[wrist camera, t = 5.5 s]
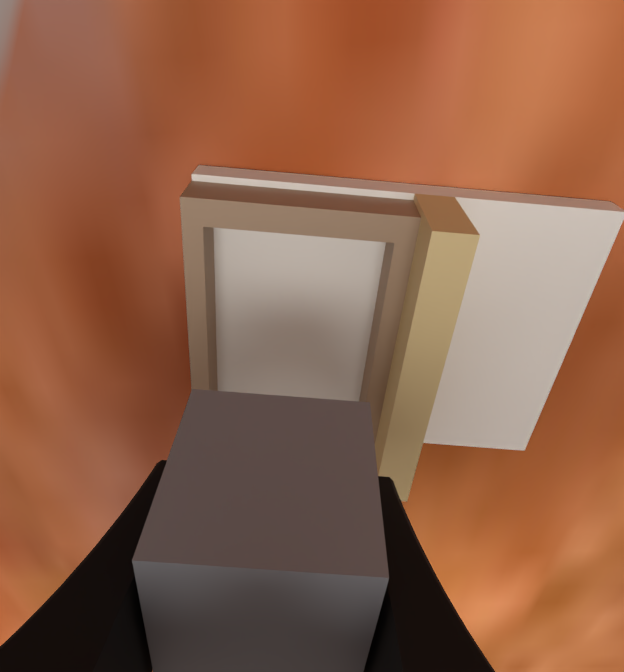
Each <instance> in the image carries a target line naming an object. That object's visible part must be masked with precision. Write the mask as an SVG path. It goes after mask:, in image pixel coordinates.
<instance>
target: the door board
mask: <svg viewBox="0 0 624 672" xmlns="http://www.w3.org/2000/svg"><path fill="white" fill-rule="evenodd" d="M180 209H181V225H182V242H183V258H184V274H185V291H186V307H187V323H188V340H189V356H190V372H191V389H200V390H213V391H227V392H240V393H253V394H266V395H280V396H293V397H306V398H319V399H333V400H346V401H359V402H370V407H371V416H372V425H373V435H374V444H375V453H376V462H377V471H378V476H383V477H390V478H391V479H392V480H393V481H394V484H395V487H396V490H397V492H398V495H399V498H400V500H401V501H407V500H408V496H409V492H410V489H411V485H412V481H413V478H414V474H415V471H416V467H417V463H418V460H419V456H420V452H421V449H422V445H423V443H431V444H444V445H457V446H470V447H484V448H497V449H510V450H523V451H524V450H525V448H526V446H527V443H528V441H529V439H530V437H531V434H532V432H533V430H534V427H535V425H536V423H537V420H538V418H539V416H540V413H541V411H542V409H543V406H544V404H545V402H546V399H547V397H548V395H549V392H550V390H551V388H552V385H553V383H554V381H555V378H556V376H557V374H558V371H559V369H560V367H561V364H562V362H563V360H564V357H565V355H566V353H567V350H568V348H569V346H570V343H571V341H572V339H573V336H574V334H575V332H576V329H577V327H578V325H579V322H580V320H581V318H582V315H583V313H584V311H585V308H586V306H587V304H588V301H589V299H590V297H591V294H592V292H593V290H594V287H595V285H596V283H597V280H598V278H599V276H600V273H601V271H602V269H603V266H604V264H605V262H606V259H607V257H608V255H609V252H610V250H611V248H612V245H613V243H614V241H615V238H616V236H617V234H618V231H619V229H620V227H621V224H622V222H623V220H624V210H623V209H621V208H620V207H618V206H617V205H616V204H614V203H613V202H611V201H601V200H589V199H578V198H567V197H555V196H544V195H533V194H521V193H510V192H499V191H487V190H476V189H465V188H453V187H442V186H431V185H420V184H408V183H397V182H386V181H374V180H363V179H352V178H340V177H329V176H318V175H306V174H295V173H284V172H273V171H261V170H250V169H239V168H227V167H216V166H205V165H198V167H197V168H196V169H195V170H194V172H193V173H192V181H191V183H190V184H189V185H188V187H187V188H186V189H185V190H184V192H183V193H182V194H181V196H180Z"/></svg>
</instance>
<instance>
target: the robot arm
mask: <svg viewBox="0 0 624 672" xmlns="http://www.w3.org/2000/svg"><path fill="white" fill-rule="evenodd" d="M166 462H167V460H161V461H160V462H158V463H157V464H156V466H155V467H154V469H153V470H152V472H151V473H150V475H149V476H148V478H147V479H146V481H145V482H144V483H143V485H142V486H141V488H140V489H139V491H138V492H137V493H136V495H135V496H134V497H133V499H132V500H131V501H130V503H129V504H128V506H127V507H126V508H125V510H124V511H123V512H122V514H121V515H120V516H119V517H118V519H117V520H116V521H115V522H114V524H113V525H112V526H111V527H110V529H109V530H108V531H107V532H106V534H105V535H104V536H103V537H102V539H101V540H100V541H99V542H98V544H97V545H96V546H95V547H94V548H93V550H92V551H91V552H90V553H89V554H88V555H87V557H86V558H85V559H84V560H83V561H82V562H81V563H80V565H79V566H78V567H77V568H76V569H75V570H74V571H73V573H72V574H71V575H70V576H69V577H68V578H67V579H66V581H65V582H64V583H63V584H62V585H61V586H60V587H59V588H58V589H57V590H56V591H55V592H54V594H53V595H52V596H51V597H50V598H49V599H48V600H47V601H46V602H45V603H44V604H43V605H42V606H41V607H40V608H39V609H38V610H37V611H36V612H35V613H34V614H33V615H32V616H31V617H30V618H29V619H28V620H27V621H26V622H25V623H24V624H23V625H22V626H21V627H20V628H19V629H18V630H17V631H16V632H15V633H14V634H13V635H12V636H11V637H10V638H9V639H8V640H7V641H6V642H5V643H4V644H3V645H1V646H0V672H152V669H153V668H152V663H151V657H150V652H149V647H148V642H147V637H146V631H145V626H144V621H143V616H142V610H141V605H140V600H139V595H138V589H137V584H136V579H135V574H134V568H133V563H132V559H133V556H134V553H135V550H136V548H137V545H138V542H139V539H140V536H141V533H142V531H143V528H144V525H145V522H146V519H147V516H148V513H149V511H150V508H151V505H152V502H153V499H154V496H155V494H156V491H157V488H158V485H159V482H160V479H161V476H162V474H163V471H164V468H165V465H166ZM378 480H379V489H380V499H381V508H382V517H383V526H384V535H385V544H386V553H387V563H388V572H389V580H388V584H387V588H386V591H385V595H384V599H383V602H382V606H381V610H380V613H379V617H378V621H377V624H376V628H375V631H374V635H373V639H372V642H371V646H370V650H369V653H368V657H367V661H366V664H365V668H364V671H363V672H495V671H494V669H493V668H492V667H491V665H490V664H489V662H488V661H487V659H486V658H485V656H484V654H483V653H482V651H481V650H480V648H479V647H478V645H477V644H476V642H475V641H474V639H473V638H472V636H471V634H470V633H469V631H468V630H467V628H466V626H465V625H464V623H463V622H462V620H461V618H460V617H459V615H458V613H457V612H456V610H455V608H454V606H453V605H452V603H451V601H450V599H449V598H448V596H447V594H446V593H445V591H444V589H443V587H442V585H441V583H440V582H439V580H438V578H437V576H436V574H435V572H434V570H433V568H432V566H431V564H430V563H429V561H428V559H427V557H426V555H425V553H424V551H423V549H422V547H421V545H420V543H419V541H418V539H417V537H416V534H415V532H414V530H413V528H412V526H411V523H410V521H409V519H408V517H407V514H406V512H405V510H404V507H403V505H402V503H401V500H400V498H399V495H398V492H397V490H396V487H395V484H394V481H393V480H392V479H391V478H390V477H383V476H378Z"/></svg>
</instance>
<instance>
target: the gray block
mask: <svg viewBox="0 0 624 672" xmlns="http://www.w3.org/2000/svg"><path fill="white" fill-rule="evenodd" d="M132 563H133V568H134V574H135V579H136V584H137V589H138V595H139V600H140V605H141V610H142V616H143V621H144V626H145V631H146V637H147V642H148V647H149V652H150V657H151V663H152V668H153V672H363V671H364V668H365V664H366V661H367V657H368V653H369V650H370V646H371V642H372V639H373V635H374V631H375V628H376V624H377V621H378V617H379V613H380V610H381V606H382V602H383V599H384V595H385V591H386V588H387V584H388V580H389V572H388V563H387V553H386V544H385V535H384V526H383V517H382V508H381V499H380V489H379V480H378V471H377V462H376V453H375V444H374V435H373V425H372V416H371V407H370V402H359V401H346V400H333V399H319V398H306V397H293V396H280V395H266V394H253V393H240V392H227V391H213V390H200V389H192V391H191V394H190V397H189V399H188V402H187V405H186V408H185V411H184V414H183V417H182V419H181V422H180V425H179V428H178V431H177V434H176V437H175V439H174V442H173V445H172V448H171V451H170V454H169V456H168V459H167V462H166V465H165V468H164V471H163V474H162V476H161V479H160V482H159V485H158V488H157V491H156V494H155V496H154V499H153V502H152V505H151V508H150V511H149V513H148V516H147V519H146V522H145V525H144V528H143V531H142V533H141V536H140V539H139V542H138V545H137V548H136V550H135V553H134V556H133V559H132Z"/></svg>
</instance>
